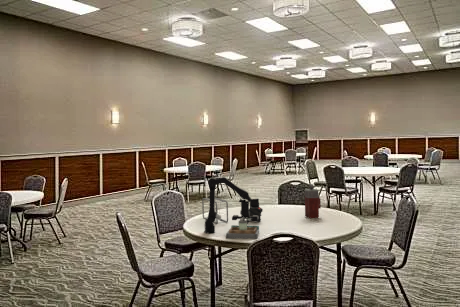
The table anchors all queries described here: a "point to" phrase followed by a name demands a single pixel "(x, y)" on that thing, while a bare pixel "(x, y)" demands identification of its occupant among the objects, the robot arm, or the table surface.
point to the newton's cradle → (215, 209)
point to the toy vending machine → (312, 202)
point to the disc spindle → (242, 225)
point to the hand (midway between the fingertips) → (245, 229)
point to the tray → (249, 230)
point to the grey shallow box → (242, 235)
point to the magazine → (255, 213)
